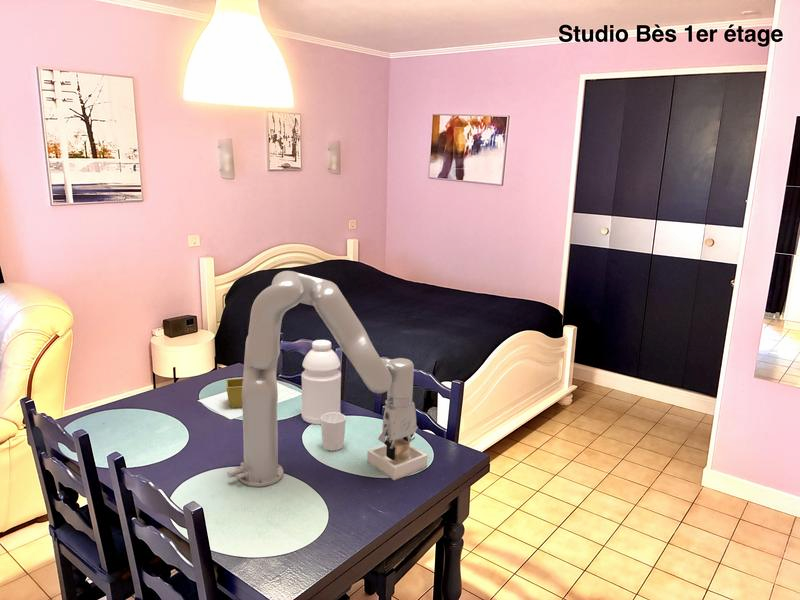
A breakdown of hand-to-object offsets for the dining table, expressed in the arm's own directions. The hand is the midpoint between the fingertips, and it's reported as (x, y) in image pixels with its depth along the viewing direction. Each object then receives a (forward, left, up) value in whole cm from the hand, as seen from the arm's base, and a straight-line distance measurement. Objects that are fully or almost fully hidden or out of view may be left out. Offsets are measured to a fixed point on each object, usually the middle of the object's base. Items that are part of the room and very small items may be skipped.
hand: (397, 454), depth 181 cm
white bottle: (0, +43, -4) cm, 43 cm away
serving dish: (0, 0, -3) cm, 3 cm away
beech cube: (0, 0, -1) cm, 1 cm away
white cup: (-9, +22, -4) cm, 24 cm away
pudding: (+13, +16, -4) cm, 21 cm away
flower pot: (-19, +69, -4) cm, 71 cm away
